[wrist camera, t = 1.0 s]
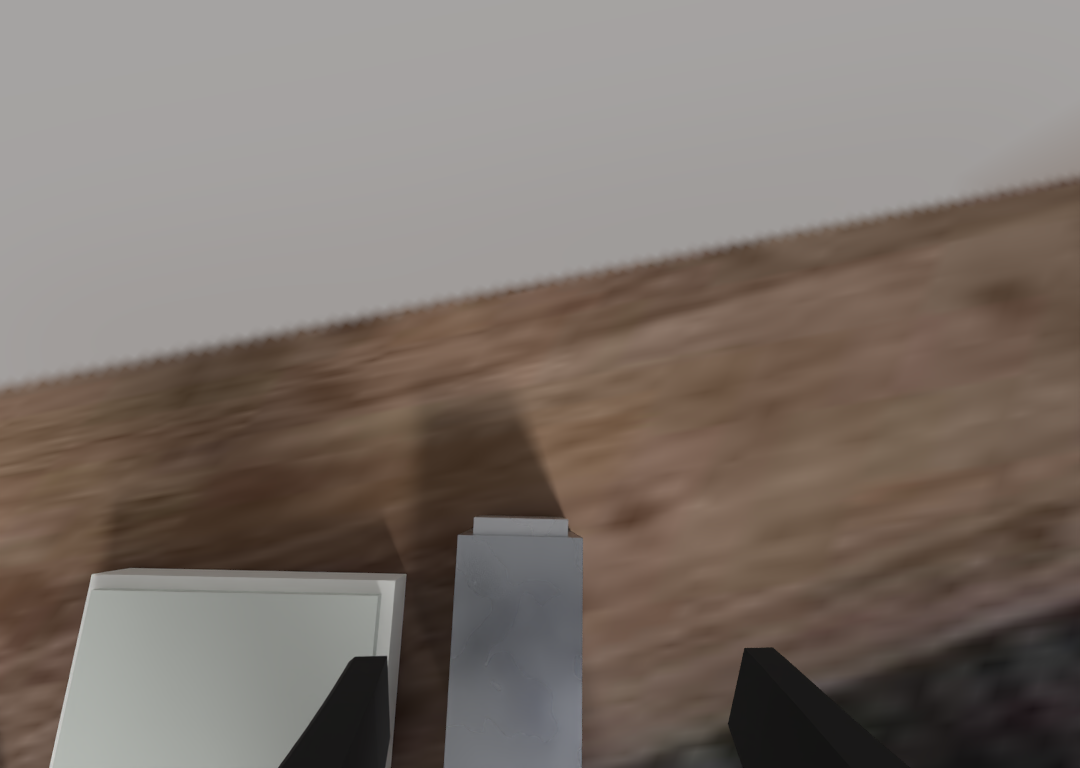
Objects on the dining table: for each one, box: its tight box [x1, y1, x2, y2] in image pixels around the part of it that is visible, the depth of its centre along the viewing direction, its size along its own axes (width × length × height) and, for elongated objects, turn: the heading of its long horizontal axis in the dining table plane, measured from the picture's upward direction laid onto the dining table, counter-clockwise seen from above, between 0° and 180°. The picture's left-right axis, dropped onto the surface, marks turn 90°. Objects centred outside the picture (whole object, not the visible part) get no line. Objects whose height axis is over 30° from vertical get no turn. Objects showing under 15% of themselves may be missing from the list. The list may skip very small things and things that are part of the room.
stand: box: [49, 568, 407, 768], centre depth 19 cm, size 12×12×2 cm
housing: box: [444, 515, 583, 768], centre depth 20 cm, size 9×4×5 cm, turn 178°
